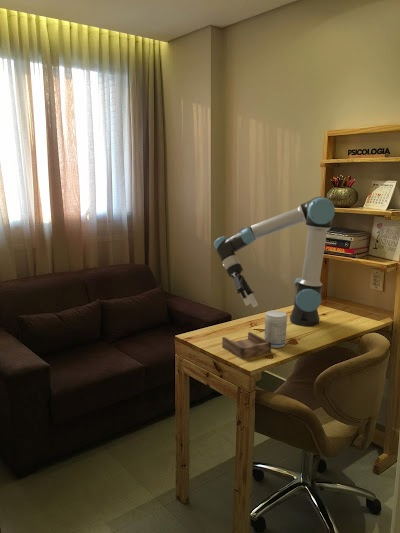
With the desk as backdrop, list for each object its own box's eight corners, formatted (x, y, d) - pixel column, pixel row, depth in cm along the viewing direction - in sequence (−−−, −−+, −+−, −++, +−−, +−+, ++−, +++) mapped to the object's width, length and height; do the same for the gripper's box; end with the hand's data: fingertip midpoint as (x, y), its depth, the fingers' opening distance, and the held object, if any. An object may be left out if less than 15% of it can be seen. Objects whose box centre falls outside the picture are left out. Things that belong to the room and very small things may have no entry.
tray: (249, 341, 207) (250, 332, 206) (270, 352, 194) (271, 342, 193) (222, 347, 200) (222, 337, 199) (241, 359, 187) (242, 348, 186)
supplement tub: (263, 340, 209) (265, 309, 206) (284, 341, 208) (286, 310, 205) (264, 348, 199) (265, 316, 196) (286, 349, 198) (288, 317, 195)
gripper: (233, 273, 233) (252, 310, 227) (218, 266, 210) (238, 307, 204) (246, 266, 231) (265, 303, 225) (232, 258, 208) (252, 299, 202)
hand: (252, 305), depth 214 cm, fingers open, 13 cm apart
